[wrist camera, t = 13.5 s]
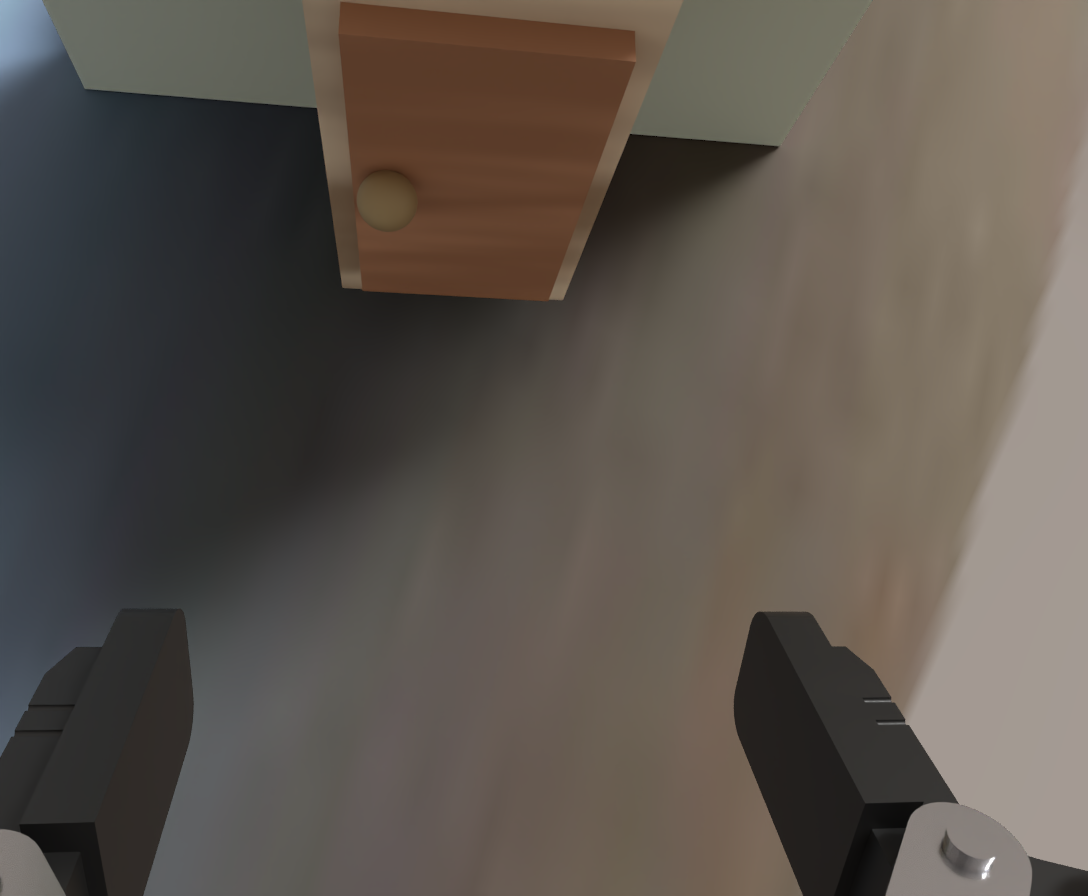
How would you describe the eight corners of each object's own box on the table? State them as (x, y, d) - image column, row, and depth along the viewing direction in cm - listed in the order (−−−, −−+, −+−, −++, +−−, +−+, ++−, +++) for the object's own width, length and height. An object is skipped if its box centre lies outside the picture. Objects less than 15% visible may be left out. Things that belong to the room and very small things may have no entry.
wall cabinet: (563, 357, 21) (696, 74, 12) (339, 346, 21) (285, 36, 11) (559, 26, 24) (667, -435, 14) (358, 5, 23) (327, -493, 13)
